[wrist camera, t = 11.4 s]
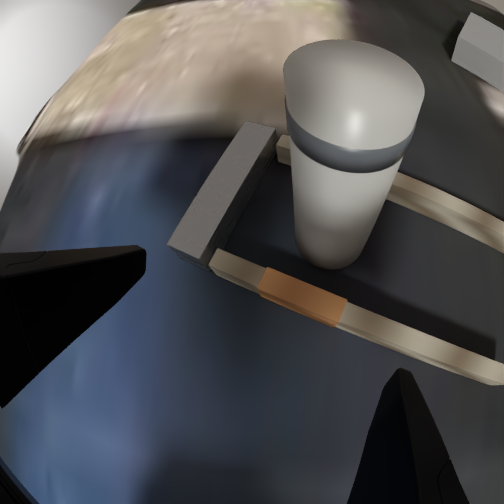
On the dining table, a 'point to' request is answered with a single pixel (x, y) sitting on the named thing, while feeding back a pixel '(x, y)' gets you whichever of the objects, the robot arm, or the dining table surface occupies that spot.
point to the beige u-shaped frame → (306, 295)
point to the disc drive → (481, 50)
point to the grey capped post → (345, 141)
